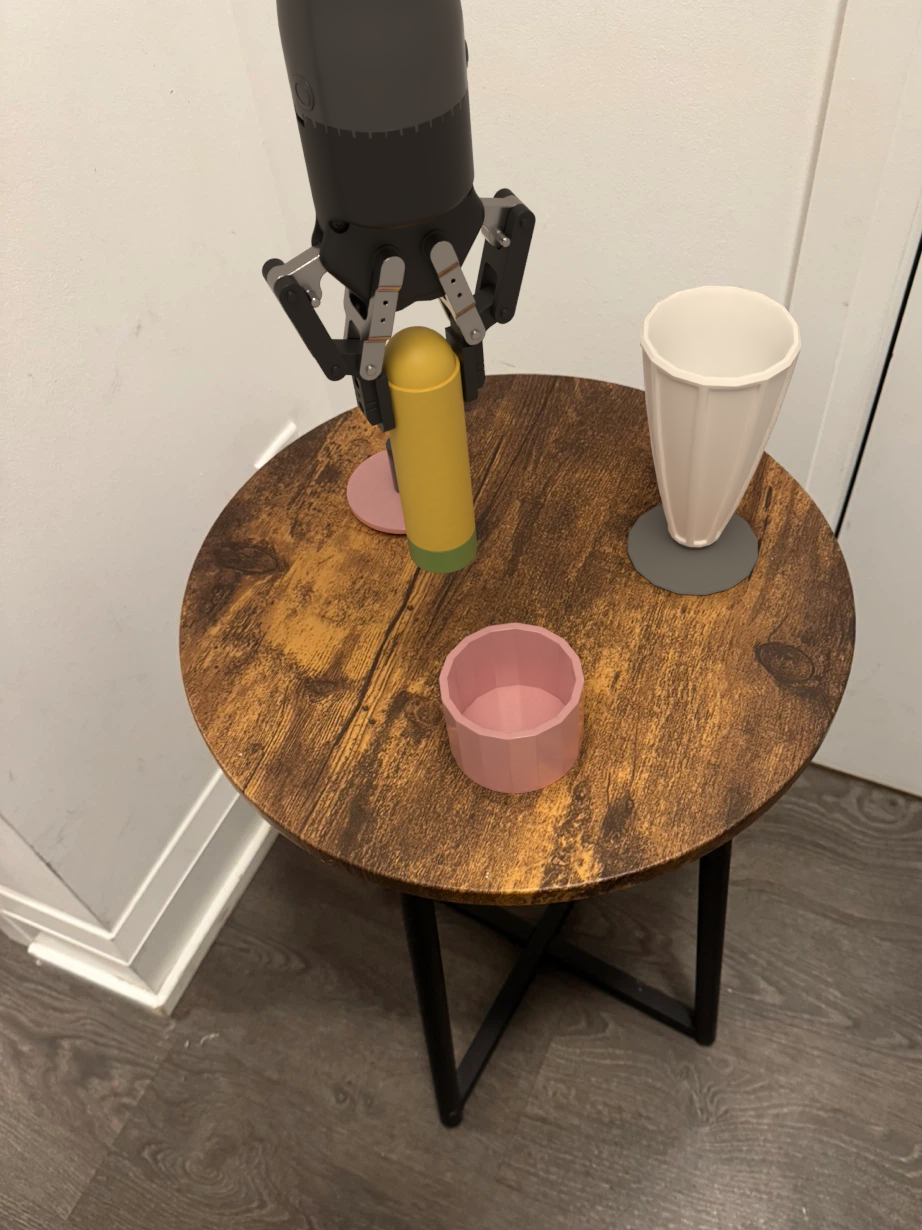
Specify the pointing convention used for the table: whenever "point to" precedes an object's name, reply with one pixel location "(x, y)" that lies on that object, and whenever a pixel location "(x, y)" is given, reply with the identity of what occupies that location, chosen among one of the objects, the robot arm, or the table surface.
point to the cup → (708, 430)
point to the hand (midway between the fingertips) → (423, 406)
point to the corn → (431, 449)
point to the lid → (377, 493)
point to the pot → (513, 707)
